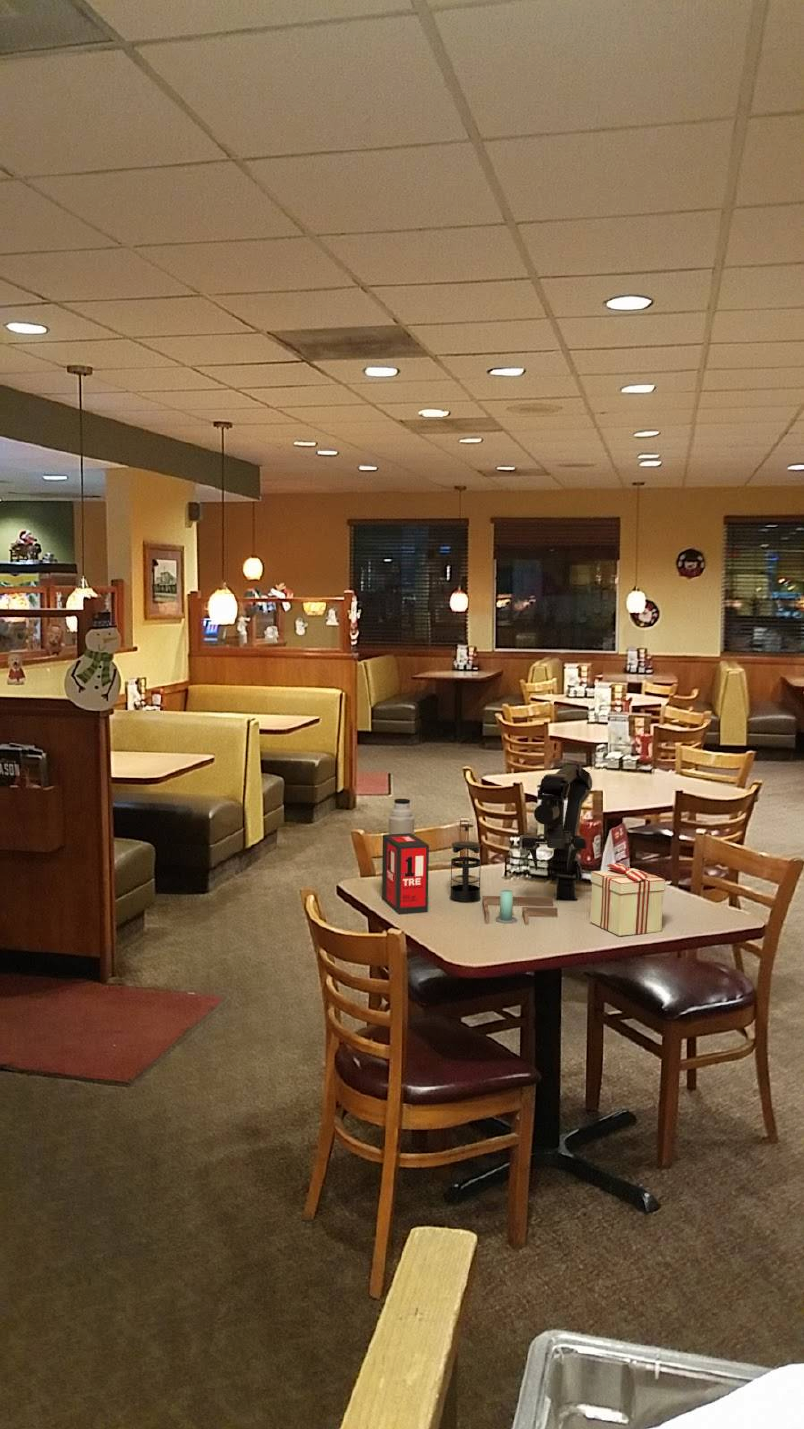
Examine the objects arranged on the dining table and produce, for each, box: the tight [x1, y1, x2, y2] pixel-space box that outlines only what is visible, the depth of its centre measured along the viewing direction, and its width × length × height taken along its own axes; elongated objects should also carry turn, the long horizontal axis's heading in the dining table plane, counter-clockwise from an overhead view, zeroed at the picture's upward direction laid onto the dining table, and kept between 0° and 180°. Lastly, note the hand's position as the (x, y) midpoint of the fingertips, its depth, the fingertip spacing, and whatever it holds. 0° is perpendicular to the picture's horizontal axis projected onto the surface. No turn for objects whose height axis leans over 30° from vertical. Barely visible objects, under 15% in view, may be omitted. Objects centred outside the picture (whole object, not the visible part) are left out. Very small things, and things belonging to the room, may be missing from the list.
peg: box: [499, 889, 514, 921], centre depth 313 cm, size 4×4×8 cm
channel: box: [481, 895, 558, 926], centre depth 320 cm, size 20×21×2 cm
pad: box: [495, 915, 518, 924], centre depth 314 cm, size 6×6×1 cm
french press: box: [449, 823, 482, 904], centre depth 335 cm, size 12×9×23 cm
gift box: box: [589, 862, 666, 937], centre depth 309 cm, size 17×18×17 cm
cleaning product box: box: [381, 833, 430, 915], centre depth 326 cm, size 16×9×20 cm, turn 18°
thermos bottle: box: [388, 798, 415, 836], centre depth 347 cm, size 8×8×28 cm
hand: (552, 870), depth 323 cm, fingers open, 9 cm apart
